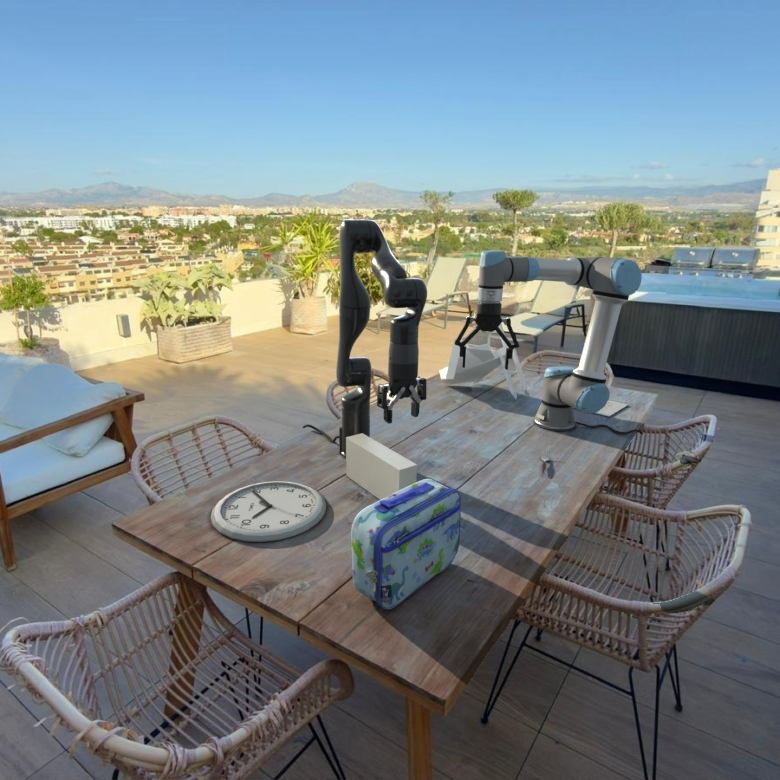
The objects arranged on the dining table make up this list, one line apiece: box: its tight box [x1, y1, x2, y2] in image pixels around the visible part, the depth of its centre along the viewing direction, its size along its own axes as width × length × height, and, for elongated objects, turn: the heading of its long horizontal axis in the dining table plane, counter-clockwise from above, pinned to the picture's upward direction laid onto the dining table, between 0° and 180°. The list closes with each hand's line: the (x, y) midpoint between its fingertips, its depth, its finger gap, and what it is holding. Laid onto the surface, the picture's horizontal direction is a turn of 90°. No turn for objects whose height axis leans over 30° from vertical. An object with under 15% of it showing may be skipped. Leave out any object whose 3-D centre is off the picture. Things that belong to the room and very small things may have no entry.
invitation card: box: [595, 400, 629, 418], centre depth 226 cm, size 21×1×15 cm
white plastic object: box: [438, 323, 531, 400], centre depth 245 cm, size 37×45×31 cm
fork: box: [541, 449, 551, 474], centre depth 169 cm, size 3×16×2 cm, turn 160°
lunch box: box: [350, 478, 462, 611], centre depth 110 cm, size 26×11×21 cm, turn 135°
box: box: [345, 433, 418, 500], centre depth 150 cm, size 27×6×13 cm, turn 36°
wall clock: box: [210, 480, 327, 543], centre depth 140 cm, size 30×2×30 cm
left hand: (401, 419), depth 136 cm, fingers open, 8 cm apart
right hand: (484, 367), depth 169 cm, fingers open, 13 cm apart
